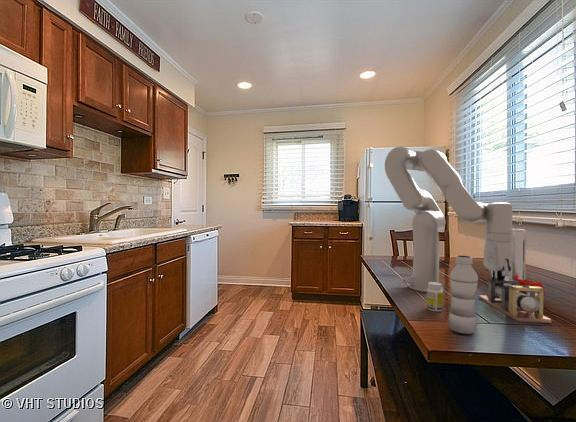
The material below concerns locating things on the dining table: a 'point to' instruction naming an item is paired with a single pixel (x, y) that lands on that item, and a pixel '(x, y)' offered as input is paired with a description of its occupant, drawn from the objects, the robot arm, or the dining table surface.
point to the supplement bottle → (435, 296)
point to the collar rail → (515, 300)
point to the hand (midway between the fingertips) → (497, 289)
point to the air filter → (518, 255)
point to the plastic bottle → (463, 296)
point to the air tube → (521, 300)
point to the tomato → (529, 283)
